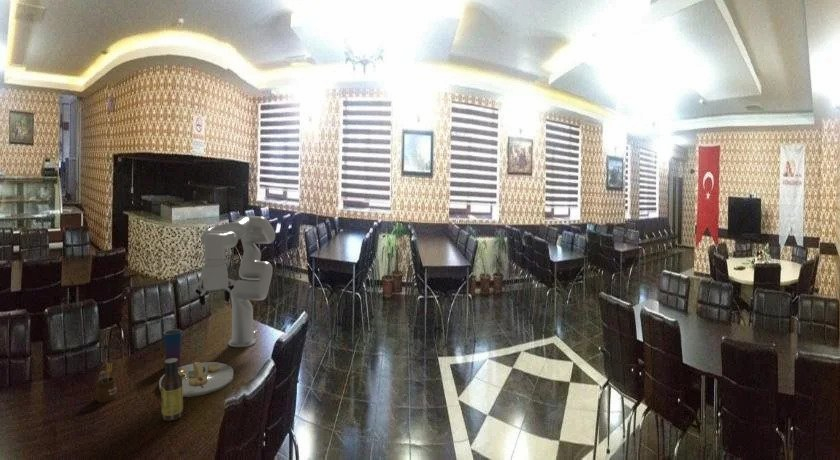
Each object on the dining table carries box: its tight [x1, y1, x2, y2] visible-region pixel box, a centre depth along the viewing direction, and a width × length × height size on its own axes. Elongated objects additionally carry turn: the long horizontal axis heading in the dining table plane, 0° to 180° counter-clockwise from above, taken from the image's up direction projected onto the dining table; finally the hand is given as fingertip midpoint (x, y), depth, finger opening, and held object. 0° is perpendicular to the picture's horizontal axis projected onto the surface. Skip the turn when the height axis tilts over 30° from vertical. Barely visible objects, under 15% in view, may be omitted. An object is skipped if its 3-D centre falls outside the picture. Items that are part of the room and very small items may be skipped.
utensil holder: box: [95, 362, 117, 403], centre depth 153 cm, size 6×6×12 cm
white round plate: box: [158, 361, 234, 398], centre depth 169 cm, size 26×26×4 cm
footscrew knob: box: [189, 361, 208, 386], centre depth 163 cm, size 7×6×7 cm
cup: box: [162, 328, 183, 367], centre depth 182 cm, size 7×7×15 cm
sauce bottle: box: [160, 358, 184, 422], centre depth 143 cm, size 6×6×20 cm
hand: (214, 302), depth 180 cm, fingers open, 9 cm apart
